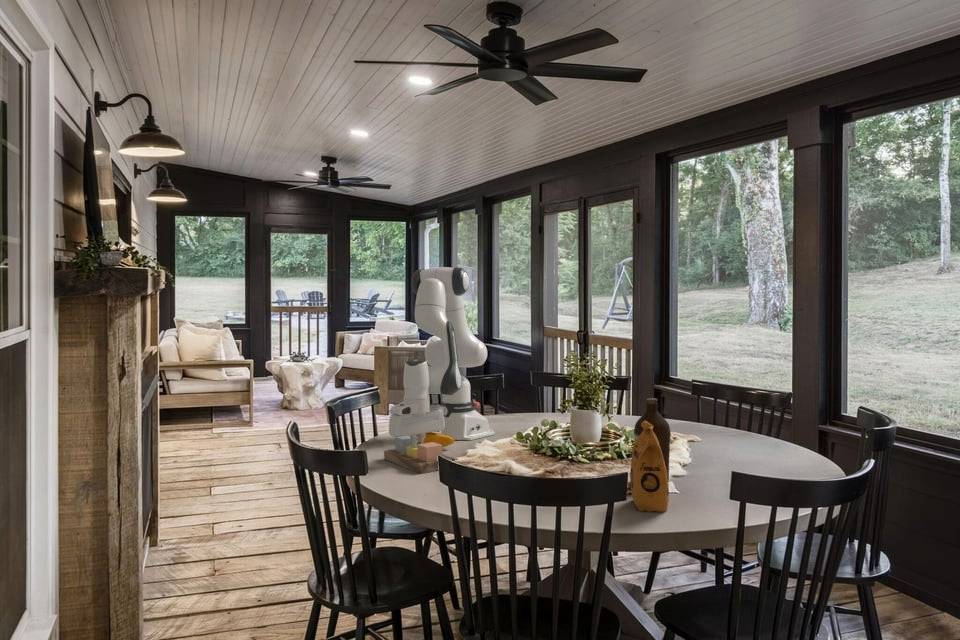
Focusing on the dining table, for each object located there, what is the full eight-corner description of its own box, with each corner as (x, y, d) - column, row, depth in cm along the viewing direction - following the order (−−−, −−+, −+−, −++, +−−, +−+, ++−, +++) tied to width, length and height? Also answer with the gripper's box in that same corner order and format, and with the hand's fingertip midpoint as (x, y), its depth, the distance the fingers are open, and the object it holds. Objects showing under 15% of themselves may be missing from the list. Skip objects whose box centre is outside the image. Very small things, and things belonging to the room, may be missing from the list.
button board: (416, 453, 258) (416, 445, 258) (455, 467, 237) (454, 458, 236) (384, 459, 251) (383, 450, 250) (421, 473, 229) (420, 464, 229)
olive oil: (664, 475, 221) (663, 395, 219) (675, 485, 210) (675, 400, 209) (630, 477, 220) (629, 396, 219) (640, 486, 209) (639, 402, 208)
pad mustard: (421, 458, 248) (421, 444, 248) (430, 461, 243) (430, 447, 243) (406, 461, 244) (406, 446, 244) (415, 464, 239) (414, 449, 239)
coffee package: (631, 512, 186) (630, 428, 185) (630, 498, 198) (629, 419, 197) (670, 513, 184) (669, 429, 183) (667, 499, 196) (666, 420, 195)
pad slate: (410, 448, 254) (410, 434, 254) (418, 451, 249) (418, 437, 249) (395, 451, 251) (395, 436, 251) (403, 454, 246) (403, 439, 246)
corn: (406, 425, 271) (457, 427, 266) (407, 445, 272) (458, 446, 267) (400, 431, 264) (452, 432, 259) (401, 451, 264) (453, 452, 260)
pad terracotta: (433, 456, 241) (433, 442, 241) (442, 459, 236) (442, 445, 236) (417, 459, 238) (417, 444, 237) (427, 462, 233) (426, 447, 233)
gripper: (438, 402, 251) (439, 441, 252) (386, 408, 240) (387, 449, 240) (447, 404, 246) (448, 444, 246) (395, 410, 234) (396, 452, 235)
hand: (417, 446), depth 243 cm, fingers closed
